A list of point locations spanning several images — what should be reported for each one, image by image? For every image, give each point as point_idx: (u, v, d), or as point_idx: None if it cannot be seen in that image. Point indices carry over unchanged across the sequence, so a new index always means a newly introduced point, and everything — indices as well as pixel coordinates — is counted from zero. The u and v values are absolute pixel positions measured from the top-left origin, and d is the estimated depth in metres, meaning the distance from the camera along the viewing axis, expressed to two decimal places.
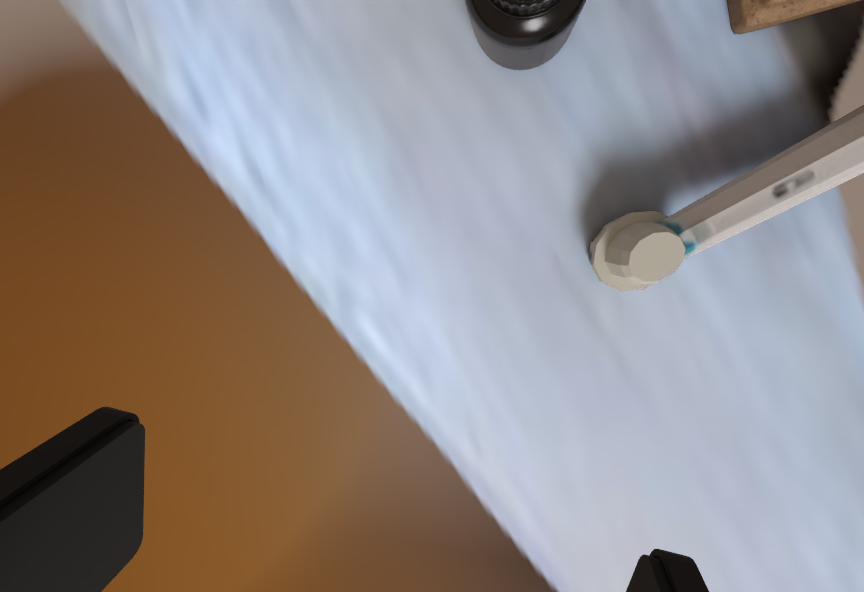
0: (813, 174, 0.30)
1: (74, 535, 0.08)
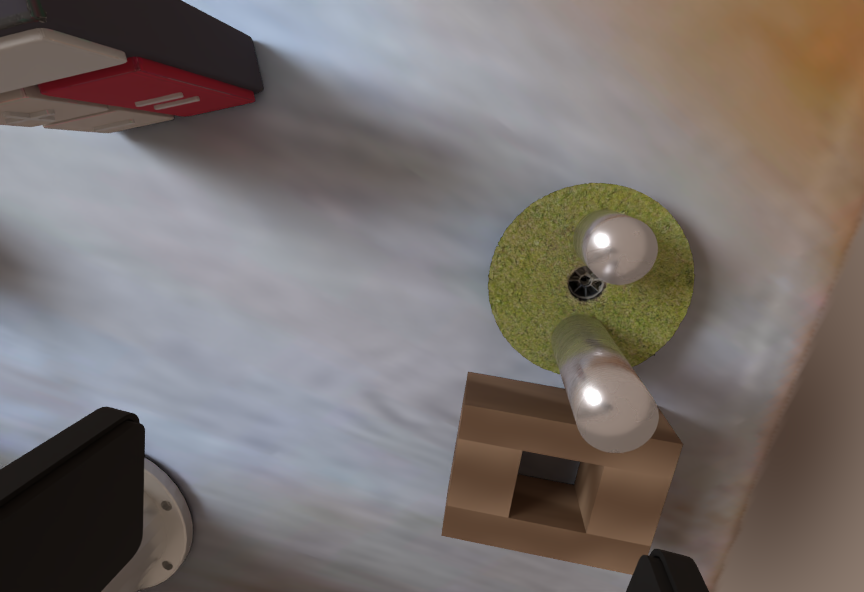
0: None
1: (74, 535, 0.08)
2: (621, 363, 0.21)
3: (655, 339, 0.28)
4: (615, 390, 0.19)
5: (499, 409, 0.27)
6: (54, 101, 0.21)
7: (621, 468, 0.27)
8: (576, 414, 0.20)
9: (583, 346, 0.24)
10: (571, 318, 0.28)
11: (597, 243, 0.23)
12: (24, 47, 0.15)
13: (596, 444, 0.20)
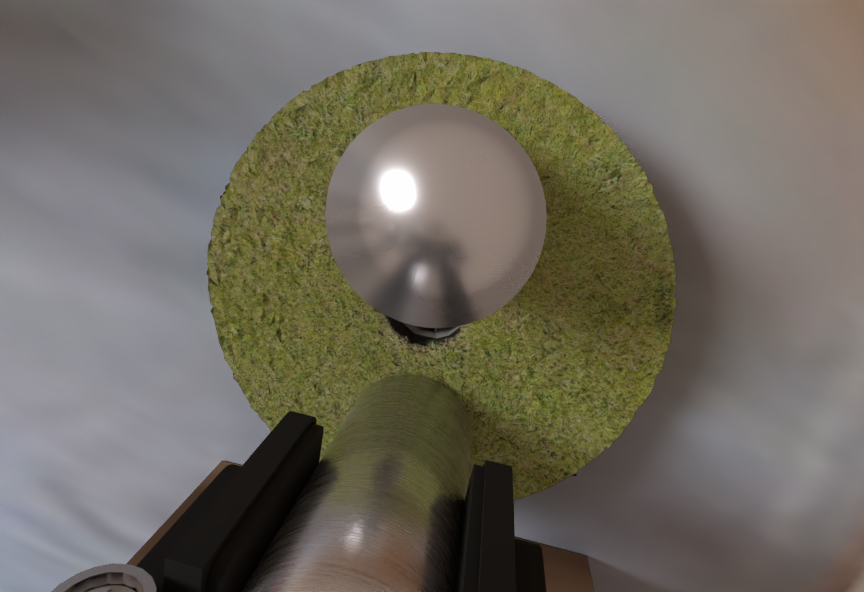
0: None
1: None
2: None
3: (579, 441, 0.12)
4: None
5: None
6: None
7: None
8: None
9: (316, 506, 0.08)
10: (384, 384, 0.12)
11: (356, 192, 0.07)
12: None
13: None
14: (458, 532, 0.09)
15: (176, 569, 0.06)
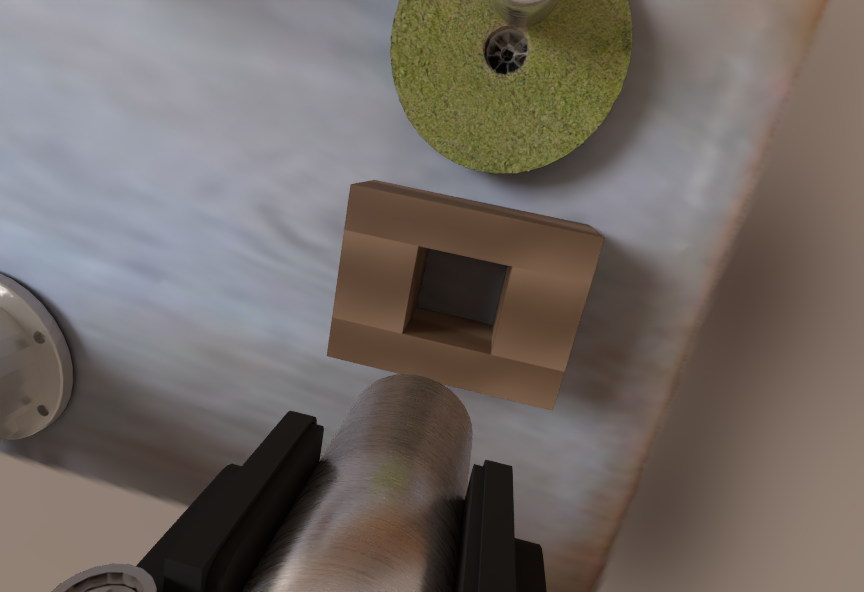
0: None
1: None
2: None
3: (584, 123, 0.23)
4: None
5: (392, 192, 0.23)
6: None
7: (533, 270, 0.23)
8: None
9: (316, 506, 0.08)
10: (384, 384, 0.12)
11: None
12: None
13: None
14: (458, 531, 0.09)
15: (176, 569, 0.06)
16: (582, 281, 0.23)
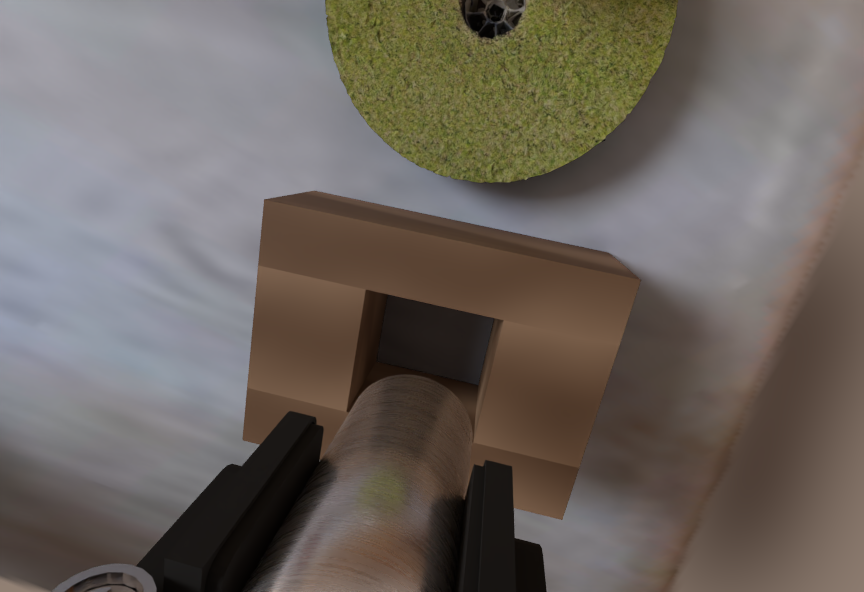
0: None
1: None
2: None
3: (607, 110, 0.16)
4: None
5: (325, 212, 0.16)
6: None
7: (533, 325, 0.16)
8: None
9: (315, 507, 0.08)
10: (384, 384, 0.12)
11: None
12: None
13: None
14: (458, 532, 0.09)
15: (176, 569, 0.06)
16: (606, 342, 0.15)
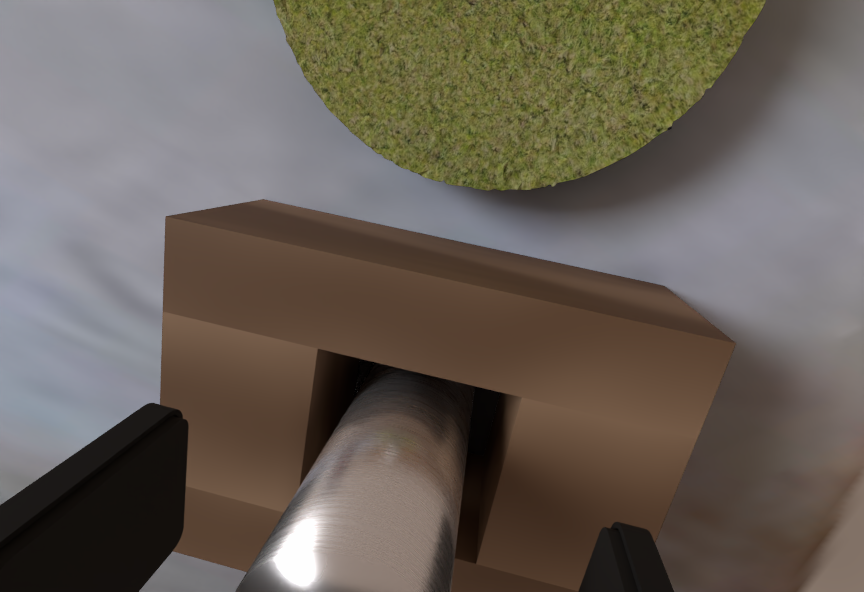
0: None
1: (128, 525, 0.08)
2: (402, 470, 0.09)
3: (676, 84, 0.11)
4: (321, 575, 0.07)
5: (256, 235, 0.10)
6: None
7: (566, 405, 0.11)
8: None
9: (365, 406, 0.11)
10: None
11: None
12: None
13: None
14: (466, 434, 0.12)
15: None
16: (677, 433, 0.10)
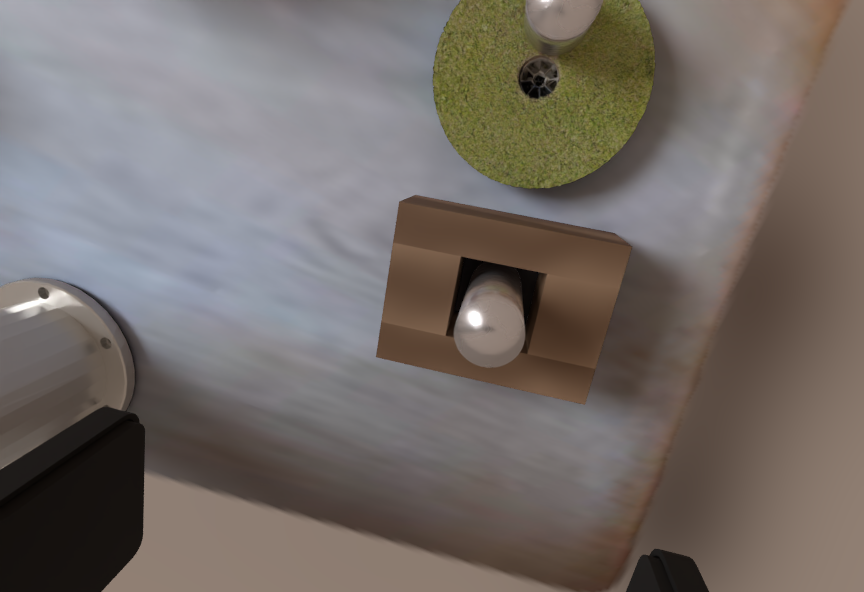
0: None
1: (74, 535, 0.08)
2: (504, 291, 0.24)
3: (611, 142, 0.26)
4: (487, 309, 0.22)
5: (437, 208, 0.25)
6: None
7: (566, 277, 0.25)
8: (454, 331, 0.22)
9: (481, 280, 0.26)
10: (486, 262, 0.30)
11: None
12: None
13: (471, 359, 0.22)
14: None
15: None
16: (611, 286, 0.25)
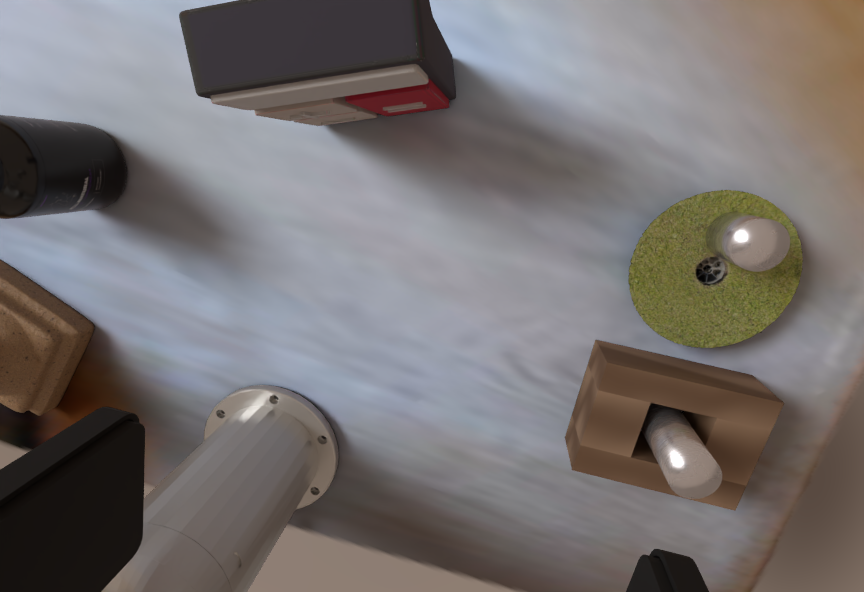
0: None
1: (74, 535, 0.08)
2: (696, 438, 0.32)
3: (763, 319, 0.35)
4: (696, 460, 0.30)
5: (635, 368, 0.34)
6: (341, 105, 0.28)
7: (730, 420, 0.34)
8: (668, 473, 0.31)
9: (665, 420, 0.34)
10: None
11: (742, 238, 0.29)
12: (395, 76, 0.22)
13: (679, 492, 0.31)
14: None
15: None
16: (765, 429, 0.34)
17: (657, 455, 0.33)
